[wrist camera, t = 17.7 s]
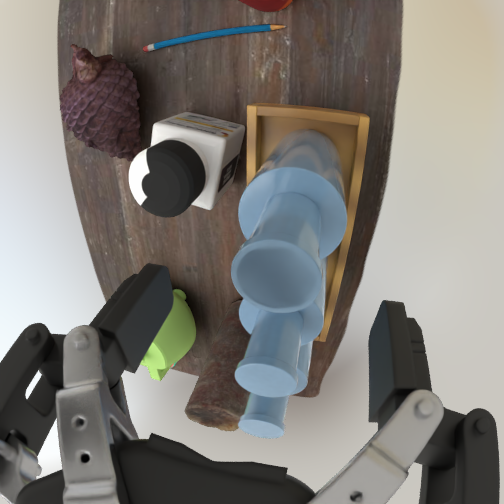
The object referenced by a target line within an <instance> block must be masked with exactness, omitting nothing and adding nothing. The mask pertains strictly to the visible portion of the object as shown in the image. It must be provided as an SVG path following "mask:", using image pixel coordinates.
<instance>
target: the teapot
mask: <svg viewBox="0 0 504 504" xmlns="http://www.w3.org/2000/svg"><path fill="white" fill-rule="evenodd" d="M173 296H174V302H173V307H172V310H171V312H170V313H169V315H168V317H167V318H166V320H165V322H164V323H163V325H162V327H161V329H160V330H159V332H158V334H157V335H156V337H155V339H154V341H153V342H152V344H151V346H150V347H149V349H148V351H147V353H146V354H145V356H144V358H143V360H142V361H141V363H140V364H141V365H144V366H147V367H148V370H149V373H150V376H151V378H153V379H156V380H159V381H161V380H162V378H163V377H164V376H165V374H166V373H167V371H168V370H169V369H170V367H171V366H172V364H174V363H175V362H177V361H178V360H180V359H181V358H182V357H183V356H184V355H185V354H186V353H187V352H188V351H189V349H190V348H191V347H192V345H193V343H194V341H195V338H196V326H195V321H194V318H193V315H192V312H191V310H190V308H189V306H188V305H187V303H186V302H185V299H186V295H185V293H184V292H183V291H181V290H179V289H175V290H173Z"/></svg>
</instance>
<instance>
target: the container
mask: <svg viewBox="0 0 504 504" xmlns="http://www.w3.org/2000/svg"><path fill="white" fill-rule="evenodd" d="M244 133H245V126H243V125H240V124H236V123H233V122H229V121H225V120H221V119H217V118H212V117H208V116H204V115H199V114H195V113H190V112H184V113H181V114H178V115H175V116H173V117H170V118H167V119H164V120H162V121H159V122H156V123H155V124H154V125H153V131H152V140H151V147H149V148H147V149H145V150H143V151H142V152H140V153H139V154H138V155H137V156H136V157H135V158H134V160H133V161H132V163H131V166H130V170H129V184H130V188H131V191H132V194H133V196H134V198H135V199H136V201H137V202H138V203H139V204H140V206H142V207H143V208H144V209H145V210H146V211H148V212H150V213H152V214H154V215H156V216H160V217H174V216H177V215H180V214H181V213H183V212H184V211H185V210H186V209H187V208H188V207H189V206H190V205H191V204H192V205H195V206H198V207H201V208H205V209H208V210H211V209H212V208H213V207H214V206H215V205H216V203H217V202H218V201H219V200H220V198H221V197H222V196H223V195H224V193H225V192H226V191H227V190H228V189H229V187H230V186H231V185H232V183H233V179H234V175H235V171H236V166H237V162H238V158H239V154H240V150H241V145H242V141H243V137H244Z"/></svg>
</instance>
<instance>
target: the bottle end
mask: <svg viewBox="0 0 504 504" xmlns="http://www.w3.org/2000/svg"><path fill="white" fill-rule="evenodd" d="M312 346H313V341H311V342H309V343H307V344H305V345H302V346H300V352H299V358H298V364H297V370H296V372H297V374H298V384H297V388H296V390H295V391H294V392H293V393H291V394H290V395H292V394H296V393H298V392H300V391H302V390H303V389H304V388H305V387H306V385H307V381H308V375H309V368H310V361H311V353H312ZM288 399H289V395H287V396H284V397H264V396H260V395H256V394H254V393H251V392H250V395H249V398H248V401H247V405H246V408H245V411H244V415H242V416H241V417H240V419H239V422H238V426H239V428H240V429H241V430H243V431H244V432H246V433H248V434H250V435H254V436H257V437H261V438H278V437H281V436H283V434H284V431H285V425H284V419H285V414H286V409H287V405H288Z"/></svg>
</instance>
